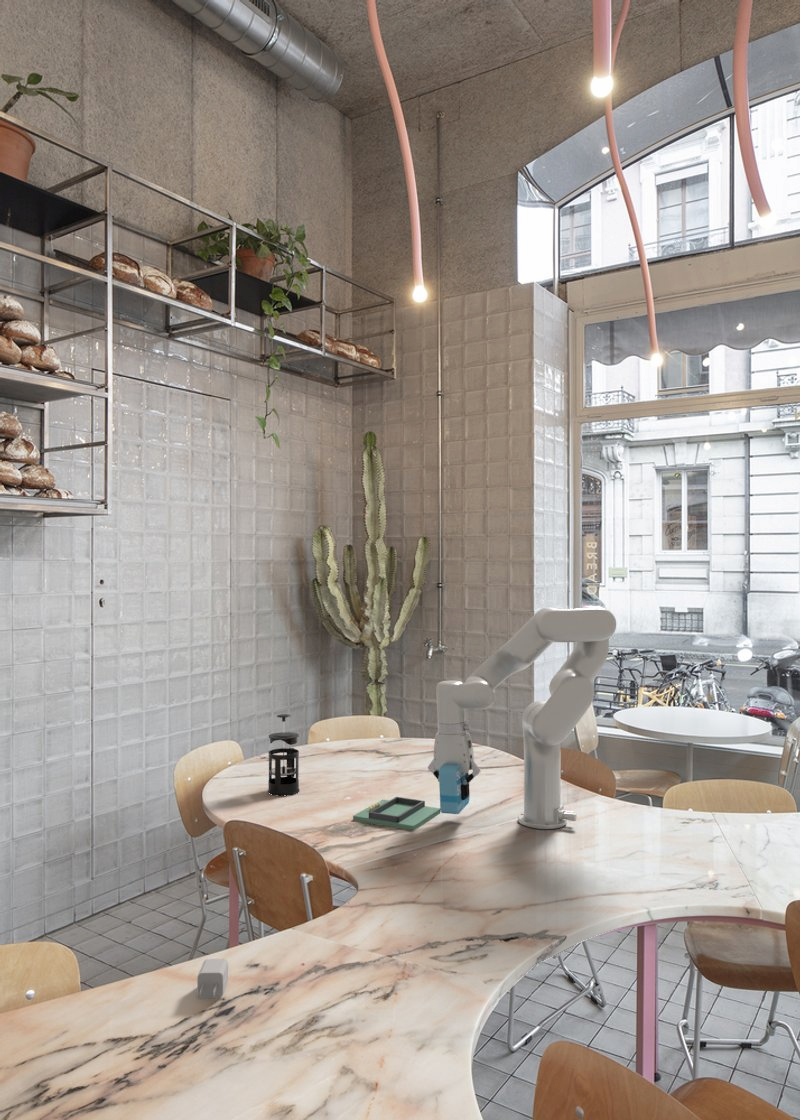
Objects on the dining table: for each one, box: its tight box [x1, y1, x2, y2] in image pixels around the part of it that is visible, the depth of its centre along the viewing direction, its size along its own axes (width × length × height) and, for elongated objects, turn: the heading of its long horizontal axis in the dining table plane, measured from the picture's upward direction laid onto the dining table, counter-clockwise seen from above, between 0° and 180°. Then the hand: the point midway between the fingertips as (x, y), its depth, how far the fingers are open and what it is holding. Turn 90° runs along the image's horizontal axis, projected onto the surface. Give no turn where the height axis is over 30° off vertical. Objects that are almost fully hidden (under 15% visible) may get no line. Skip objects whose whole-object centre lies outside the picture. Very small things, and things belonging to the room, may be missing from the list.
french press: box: [267, 713, 300, 797], centre depth 238 cm, size 12×9×23 cm
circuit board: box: [352, 796, 441, 832], centre depth 214 cm, size 18×16×3 cm
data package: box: [438, 764, 470, 815], centre depth 209 cm, size 12×4×12 cm, turn 159°
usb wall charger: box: [196, 958, 229, 999], centre depth 125 cm, size 4×7×4 cm, turn 2°
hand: (455, 796), depth 209 cm, fingers closed on data package, 4 cm apart
